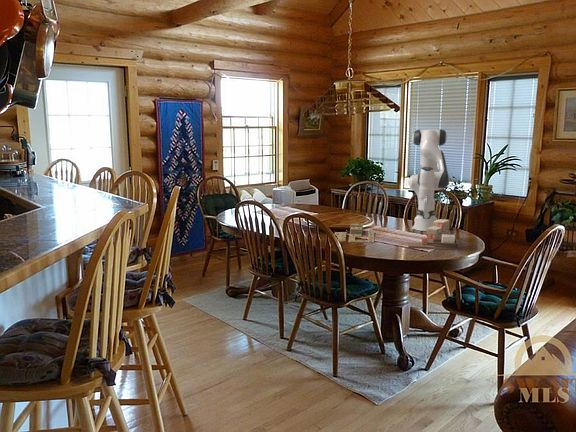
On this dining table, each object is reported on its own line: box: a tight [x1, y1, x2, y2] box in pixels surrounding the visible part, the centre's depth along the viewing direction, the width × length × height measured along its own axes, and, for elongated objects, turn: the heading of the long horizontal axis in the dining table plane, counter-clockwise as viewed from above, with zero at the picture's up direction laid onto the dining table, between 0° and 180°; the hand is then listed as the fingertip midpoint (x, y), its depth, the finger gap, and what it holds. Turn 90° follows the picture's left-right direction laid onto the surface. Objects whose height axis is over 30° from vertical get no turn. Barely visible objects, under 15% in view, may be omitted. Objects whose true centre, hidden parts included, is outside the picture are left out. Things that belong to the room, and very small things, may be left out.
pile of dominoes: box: [334, 223, 375, 244], centre depth 333 cm, size 35×27×6 cm
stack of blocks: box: [426, 218, 450, 242], centre depth 318 cm, size 21×6×12 cm, turn 141°
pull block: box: [421, 234, 456, 245], centre depth 302 cm, size 6×19×6 cm, turn 78°
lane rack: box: [407, 237, 459, 251], centre depth 303 cm, size 12×28×5 cm, turn 78°
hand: (425, 217), depth 301 cm, fingers open, 8 cm apart
